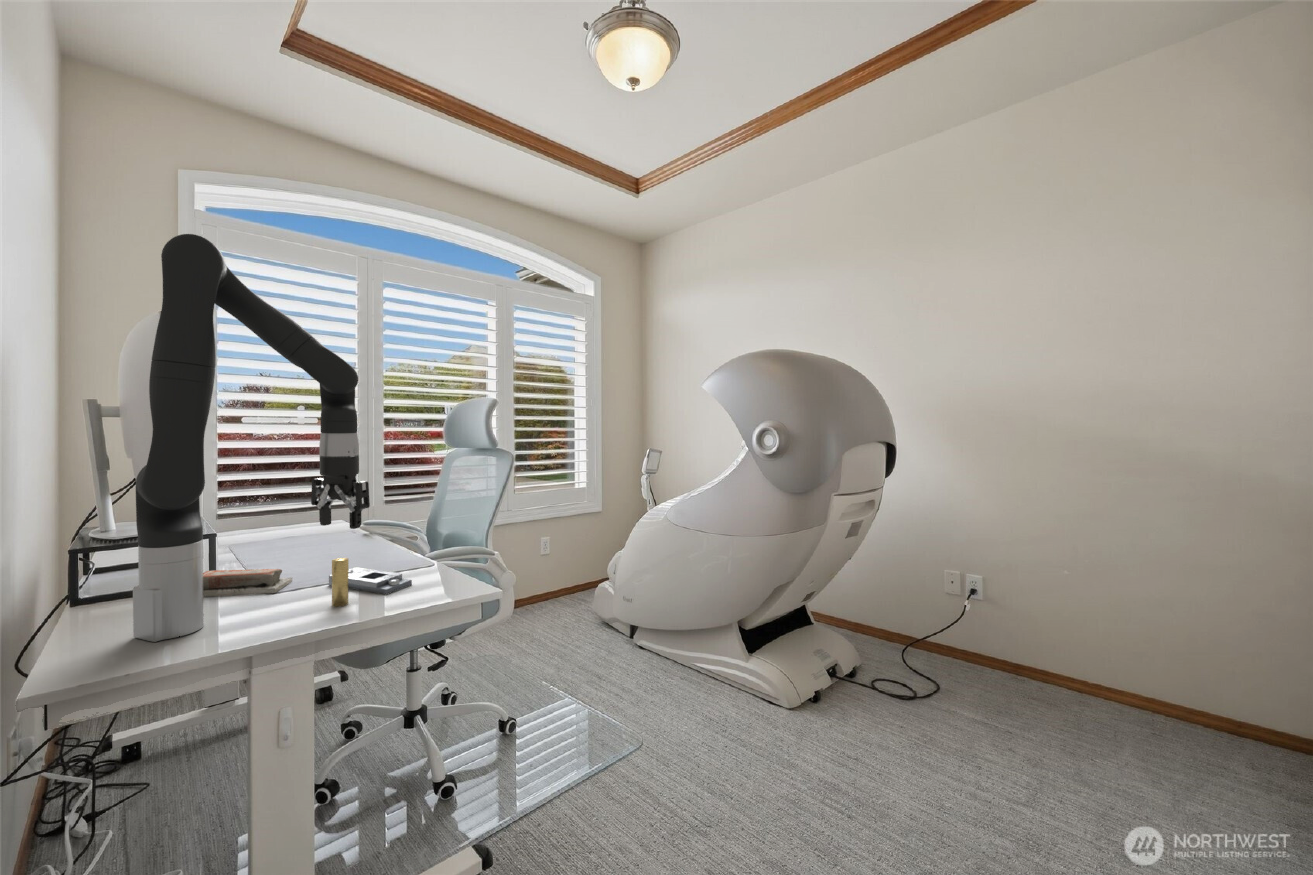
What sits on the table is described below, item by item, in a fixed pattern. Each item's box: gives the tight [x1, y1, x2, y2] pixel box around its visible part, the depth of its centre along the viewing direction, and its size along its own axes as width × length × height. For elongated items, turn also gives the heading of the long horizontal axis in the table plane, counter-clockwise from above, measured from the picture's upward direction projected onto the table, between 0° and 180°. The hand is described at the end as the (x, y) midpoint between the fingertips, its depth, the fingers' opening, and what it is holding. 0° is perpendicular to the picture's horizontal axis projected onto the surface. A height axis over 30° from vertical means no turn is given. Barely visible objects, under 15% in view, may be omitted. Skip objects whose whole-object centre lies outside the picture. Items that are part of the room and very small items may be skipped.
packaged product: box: [203, 568, 293, 597], centre depth 130 cm, size 18×5×10 cm
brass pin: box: [331, 557, 350, 608], centre depth 121 cm, size 3×3×10 cm
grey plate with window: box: [328, 566, 413, 595], centre depth 135 cm, size 8×18×3 cm, turn 71°
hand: (340, 526), depth 121 cm, fingers open, 8 cm apart
